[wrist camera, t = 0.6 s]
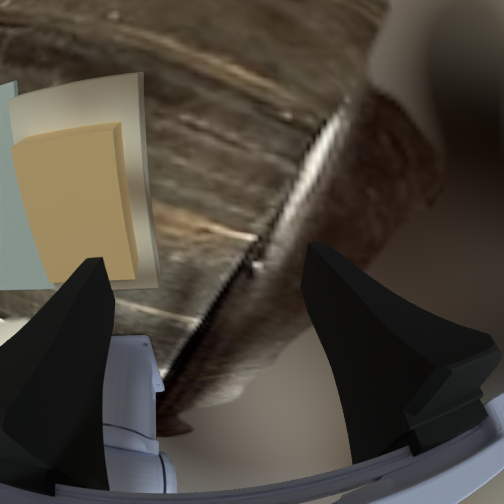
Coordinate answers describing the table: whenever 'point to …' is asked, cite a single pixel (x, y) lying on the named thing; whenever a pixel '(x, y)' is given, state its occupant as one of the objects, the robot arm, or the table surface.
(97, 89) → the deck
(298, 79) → the table surface
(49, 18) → the table surface
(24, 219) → the mat
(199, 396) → the table surface
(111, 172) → the tan rectangular block
